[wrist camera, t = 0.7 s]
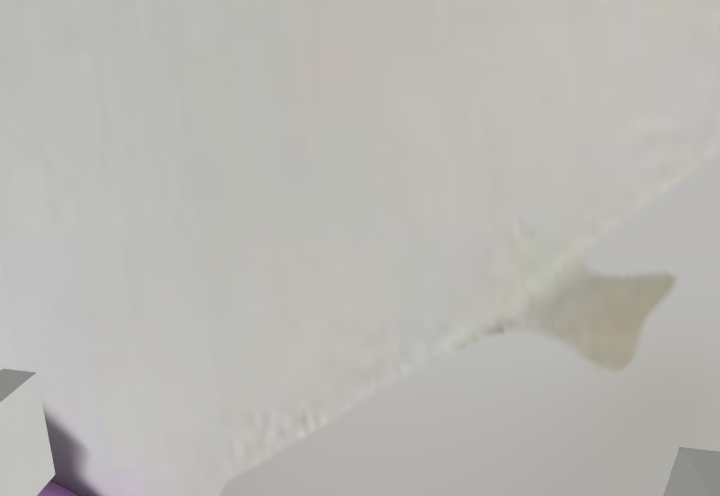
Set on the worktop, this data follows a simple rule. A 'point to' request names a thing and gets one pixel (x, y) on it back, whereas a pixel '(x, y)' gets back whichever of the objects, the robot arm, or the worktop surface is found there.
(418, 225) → the worktop surface
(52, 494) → the teakettle
